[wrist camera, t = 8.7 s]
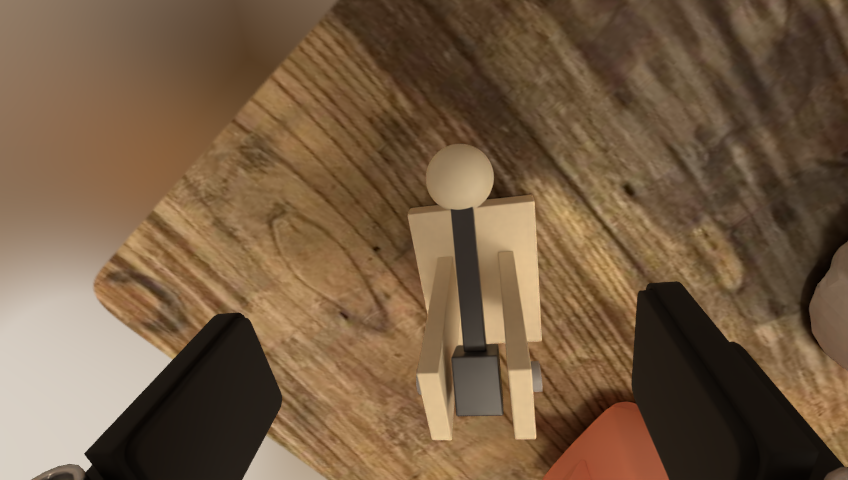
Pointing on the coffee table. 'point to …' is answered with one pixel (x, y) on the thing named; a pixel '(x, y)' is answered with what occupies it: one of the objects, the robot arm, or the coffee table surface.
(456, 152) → the lever
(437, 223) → the bracket
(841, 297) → the seashell
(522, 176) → the coffee table surface
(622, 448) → the teapot
